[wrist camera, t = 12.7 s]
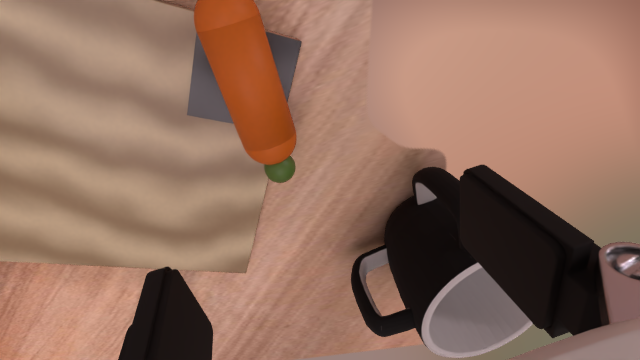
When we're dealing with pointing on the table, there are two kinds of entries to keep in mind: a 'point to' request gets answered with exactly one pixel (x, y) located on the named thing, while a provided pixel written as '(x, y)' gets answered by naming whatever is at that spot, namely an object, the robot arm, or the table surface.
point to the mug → (437, 277)
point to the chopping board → (122, 139)
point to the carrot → (248, 81)
